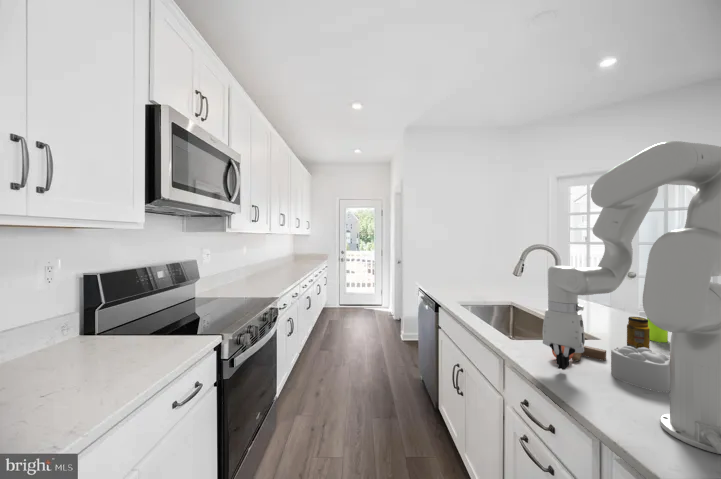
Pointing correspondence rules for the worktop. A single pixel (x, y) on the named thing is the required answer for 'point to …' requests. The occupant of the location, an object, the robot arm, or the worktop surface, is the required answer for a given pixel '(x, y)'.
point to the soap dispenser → (657, 333)
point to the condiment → (638, 332)
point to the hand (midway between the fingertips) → (562, 367)
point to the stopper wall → (594, 353)
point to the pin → (576, 356)
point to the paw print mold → (641, 368)
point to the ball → (563, 352)
